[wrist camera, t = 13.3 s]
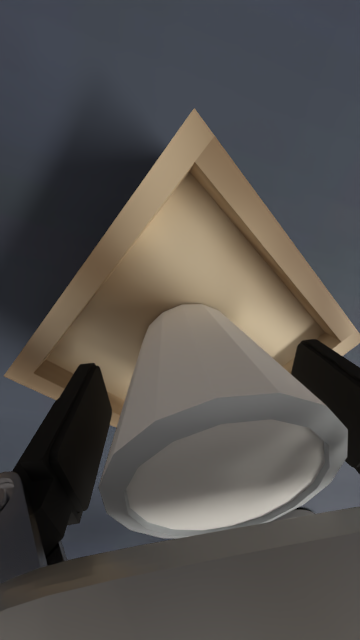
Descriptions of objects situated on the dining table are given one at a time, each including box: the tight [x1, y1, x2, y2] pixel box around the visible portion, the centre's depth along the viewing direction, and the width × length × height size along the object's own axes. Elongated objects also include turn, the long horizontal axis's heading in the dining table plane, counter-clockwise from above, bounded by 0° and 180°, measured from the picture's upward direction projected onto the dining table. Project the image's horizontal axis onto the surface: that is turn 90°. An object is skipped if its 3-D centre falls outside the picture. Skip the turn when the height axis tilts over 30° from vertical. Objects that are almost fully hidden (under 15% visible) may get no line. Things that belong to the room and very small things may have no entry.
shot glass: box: [99, 304, 348, 538], centre depth 8 cm, size 7×7×7 cm
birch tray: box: [4, 109, 360, 428], centre depth 13 cm, size 14×14×5 cm
